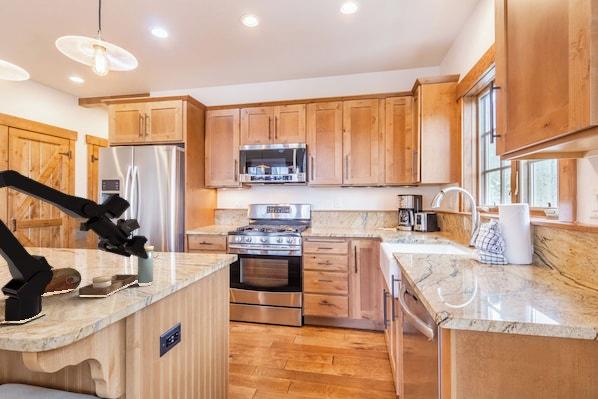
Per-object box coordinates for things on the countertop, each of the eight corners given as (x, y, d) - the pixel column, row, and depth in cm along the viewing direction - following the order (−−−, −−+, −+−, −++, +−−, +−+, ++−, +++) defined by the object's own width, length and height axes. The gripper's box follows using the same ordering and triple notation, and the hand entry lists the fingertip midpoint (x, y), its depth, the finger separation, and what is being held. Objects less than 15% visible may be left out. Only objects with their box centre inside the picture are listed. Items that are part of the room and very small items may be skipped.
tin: (19, 300, 86) (19, 273, 86) (20, 298, 88) (21, 271, 88) (81, 291, 95) (81, 266, 96) (80, 289, 98) (81, 265, 98)
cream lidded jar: (104, 296, 90) (104, 279, 90) (88, 296, 90) (88, 279, 90) (115, 291, 95) (115, 275, 95) (100, 291, 95) (100, 275, 95)
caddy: (105, 298, 88) (105, 288, 88) (78, 297, 88) (79, 288, 88) (138, 282, 106) (138, 274, 106) (116, 282, 106) (116, 274, 106)
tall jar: (148, 286, 100) (148, 247, 100) (134, 286, 100) (134, 247, 100) (156, 282, 105) (156, 245, 106) (142, 282, 105) (142, 245, 106)
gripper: (142, 211, 92) (170, 240, 102) (106, 211, 99) (136, 238, 109) (118, 238, 85) (151, 266, 95) (82, 235, 92) (115, 262, 102)
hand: (138, 257), depth 100 cm, fingers open, 9 cm apart
